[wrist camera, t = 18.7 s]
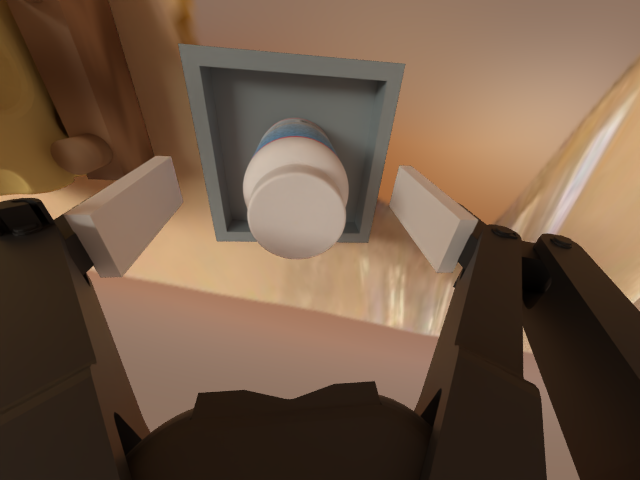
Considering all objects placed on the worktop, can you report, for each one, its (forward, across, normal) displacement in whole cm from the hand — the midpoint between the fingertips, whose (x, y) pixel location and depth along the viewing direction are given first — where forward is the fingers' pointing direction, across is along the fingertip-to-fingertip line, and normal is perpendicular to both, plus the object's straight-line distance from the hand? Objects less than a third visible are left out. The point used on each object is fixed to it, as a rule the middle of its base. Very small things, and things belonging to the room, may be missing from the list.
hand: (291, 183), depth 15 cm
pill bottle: (+7, 0, 0) cm, 7 cm away
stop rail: (+8, -13, +4) cm, 16 cm away
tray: (+8, 0, -1) cm, 8 cm away
